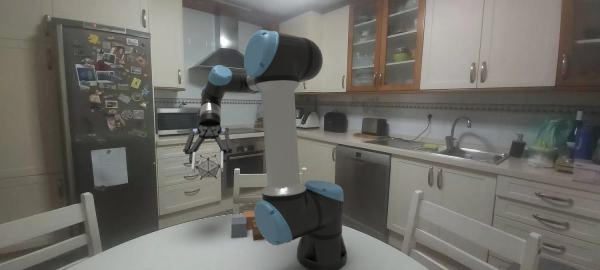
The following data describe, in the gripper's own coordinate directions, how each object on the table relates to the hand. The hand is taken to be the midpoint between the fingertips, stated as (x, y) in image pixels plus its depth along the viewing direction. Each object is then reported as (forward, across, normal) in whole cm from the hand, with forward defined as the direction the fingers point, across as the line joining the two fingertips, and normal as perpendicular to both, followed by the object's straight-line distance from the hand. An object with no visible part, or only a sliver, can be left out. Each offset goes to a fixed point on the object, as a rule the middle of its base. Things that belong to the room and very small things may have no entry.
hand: (207, 170), depth 87 cm
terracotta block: (+13, -14, -20) cm, 28 cm away
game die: (0, 0, -5) cm, 5 cm away
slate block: (+17, -10, -17) cm, 26 cm away
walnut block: (+19, -17, -15) cm, 29 cm away
